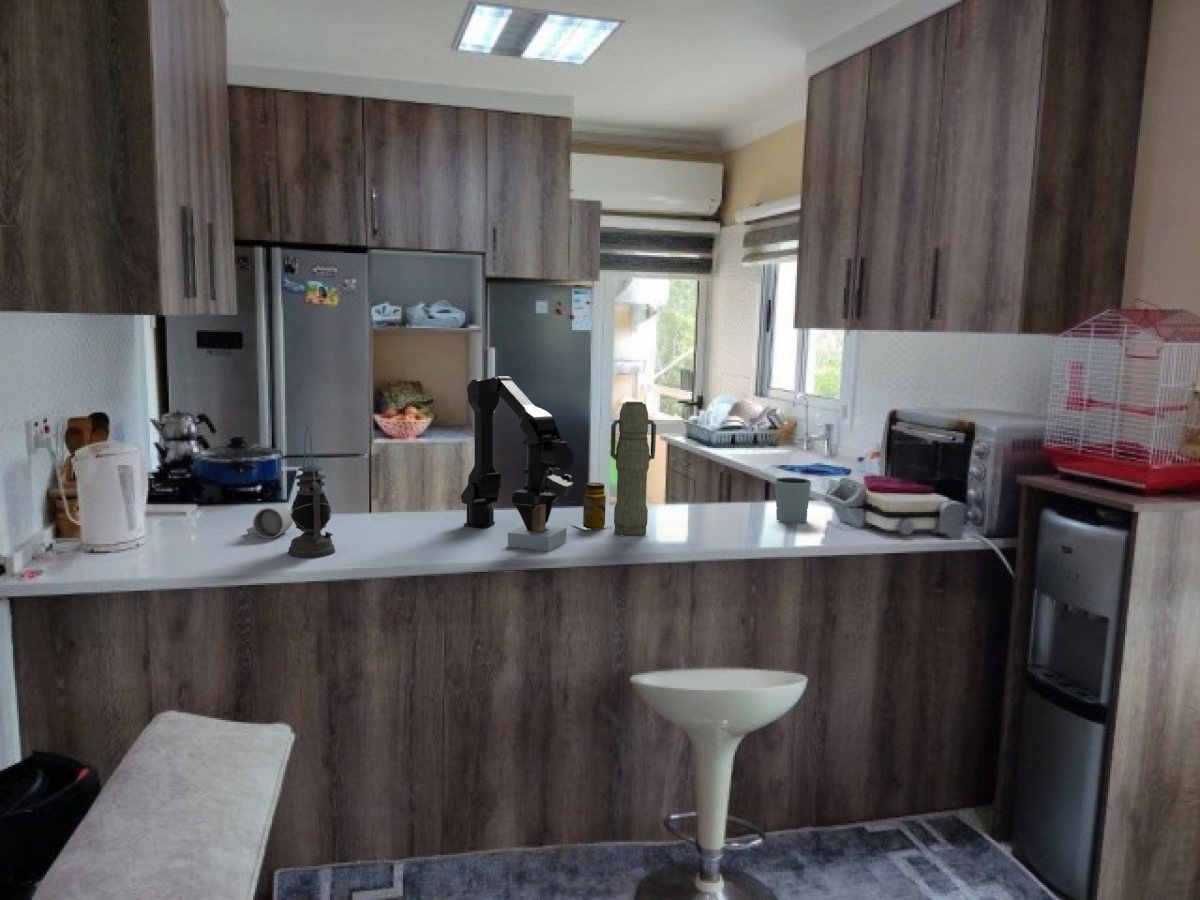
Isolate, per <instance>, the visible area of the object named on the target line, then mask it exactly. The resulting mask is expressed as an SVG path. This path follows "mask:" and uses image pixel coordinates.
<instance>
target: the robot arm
mask: <svg viewBox="0 0 1200 900" xmlns="http://www.w3.org/2000/svg"><path fill="white" fill-rule="evenodd" d="M469 382H470V383H468V384H467V388H466V389H467V390H466V393H467V398H468V400H467V401H468V404H469V406H470V407H471V410H472V411H473V413H474V466H473V467H472V469H471V471H470V473H469V475H468V479H467V485H466V487H465V488H464V490H463V491H462V493H461V494H460V499H461V503H462V504H464V505H466V522H465V523H463V526H464V525H468V526H467V527H472V526H475V528H480V527H485V528H487V527H486V526H488V527H489V525H490V526H491V524H492V525H494V523H496V521H495V520H494V519H495V518H494V516H495V515H494V513H495V512H494V511H495V510H494V508H493V503H497V502H498V500H499V495H500V492H501V488H502V485H501V484H502V483H501V478H502V474H501V473H500V472H497V470H496V469H495V467H494V413H495V410H496V409H497V407H498V405H499V403H500V398H501V399H502V400H503V401H504V402H505V404H506V405H507V406H508V407H509V408H510V410H512V412H513V413H514V414H515V415H516V416H517V418H518V419H519V428H521V430H522V432H523V434H524V435H525V436H526V438H525V439H524V440H523V441H522V443H521V444H522V445H523V446H527V447H526V450H527V451H526V468H524V469H523V474H526V484H524V485H523V489H522V488H521V489H519V490H516V491H513V493H511V495H510V503H511V504H513V506H514V507H515V508H516V509H517V511H518V513H519V515H520V517H521V520H522V521H523V525H525V526H526V528H527V530H532V526H533V520H534V512H535V509H536V508H537V507H538V506H539V505H540V504H546V524H547V523H548V521H549V518H550V515H551V513H552V509H553V505H554V503H555V501H556V500H558V499H560V498H565V497H566V496H567V497H568V496H569V494H570V492H571V489H573V488H574V482H573V476H572V475H571V474H567V473H566V474H564V475H562V476H558V475H555V470H560V471H566V470H567V471H568V469H570V468H571V467H572V466H573V463H574V459H575V456H574V453H573V450H572V449H571V447H569V446H568V441H564V440H563V438H562V434H561V432H560V431H559V428H558V425H557V423H556V421H555V418H554V416H553V415H552V414H550V412H548V411H546V410H545V409H543V408H541V407H538V406H536V405H535V404H533V402H531V400H530V399H529V397H527V395H525V393H523V391H522V390H521V389H520V388H519V387H518V386H517V384H515V383H514V379H513V378H512V377H511V376H508V375H498V376H494V377H493V376H492V377H491V378H482V379H472V380H471V381H469Z"/></svg>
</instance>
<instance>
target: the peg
mask: <svg viewBox="0 0 1200 900" xmlns="http://www.w3.org/2000/svg"><path fill="white" fill-rule="evenodd" d="M546 524H547V523H546V504H540V505H539V506H538V507H537V508H536V509H535V512H534V520H533V526H532V530H530V532H536V533H543V532H545V531H546V526H547V525H546Z"/></svg>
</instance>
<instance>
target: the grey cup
mask: <svg viewBox="0 0 1200 900" xmlns="http://www.w3.org/2000/svg"><path fill="white" fill-rule="evenodd" d="M811 486H812V481H811V480H810V479H809V478H803V477H793V476H792V477H788V476H787V477H778V478H775V479H774V487H775V488H774V489H775V496H776V498H775V506H776V511H775V512H776V513H775V514H776V521H777V520H779V521H781V522H780V523H782V522H786V523H785V524H789V523H797V524H796V525H801V524H800V523H802V524H805V523H807V520H808V509H809V502H810V500H809V498H810V494H811ZM779 521H778V522H779ZM798 523H799V524H798Z"/></svg>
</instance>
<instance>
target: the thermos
mask: <svg viewBox="0 0 1200 900" xmlns="http://www.w3.org/2000/svg"><path fill="white" fill-rule="evenodd" d="M618 417H619V419H617V420H614V421H613V422H612V424H611V425H610V429H611V430H610V451H609V453H610V454H609V456H610V457H611V458H612V459H613V460H615V469H616V473H617V476H616V477H617V478H616V479H617V480H616V502H615V505H614V507H613V508H614V509H613V510H614V511H613V525H614V530H613V531H614V532H613V533H614V534H615V535H617V536H620V535H623V536H622V537H627V536H638V537H643V536H645V534H646V535H647V526H648V516H649V515H648V513H649V512H648V511H649V509H648V507H647V486H648V485H647V484H648V483H647V477H648V471H649V468H650V461H651V460H654V459H655V458H656V457H655V456H656V441H657V440H656V439H657V434H656V433H657V425H656V423H655V422H654V420H653V419H649V412H648V408H647V404H646V403H644V402H643V401H625V402H623V403H622V405H621V408H620V411H619V416H618ZM618 424H619V425H618ZM617 425H618V432H619V436H618V442H617V444H616V435H617V433H616V430H617ZM649 425H651V430H650V445H649V443H648V442H649V441H648V440H649V439H648V433H649V432H648V431H649Z"/></svg>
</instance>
